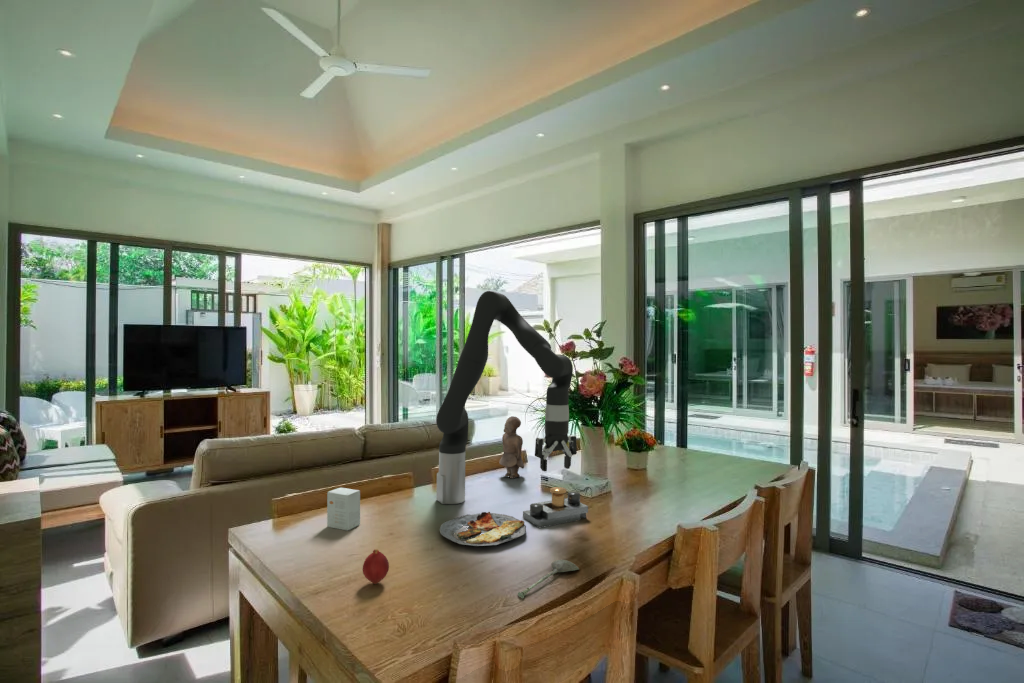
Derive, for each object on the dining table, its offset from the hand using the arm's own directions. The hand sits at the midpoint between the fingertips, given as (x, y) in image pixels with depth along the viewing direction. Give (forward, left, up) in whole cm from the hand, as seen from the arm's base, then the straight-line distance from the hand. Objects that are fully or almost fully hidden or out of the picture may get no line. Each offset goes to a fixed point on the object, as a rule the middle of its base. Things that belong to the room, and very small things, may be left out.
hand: (555, 469), depth 163 cm
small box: (-61, +22, -16) cm, 67 cm away
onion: (-61, -19, -16) cm, 66 cm away
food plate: (-26, -2, -16) cm, 30 cm away
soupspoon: (-24, -35, -16) cm, 46 cm away
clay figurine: (+11, +50, -16) cm, 54 cm away
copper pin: (+1, 0, -16) cm, 15 cm away
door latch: (0, 0, -15) cm, 15 cm away
